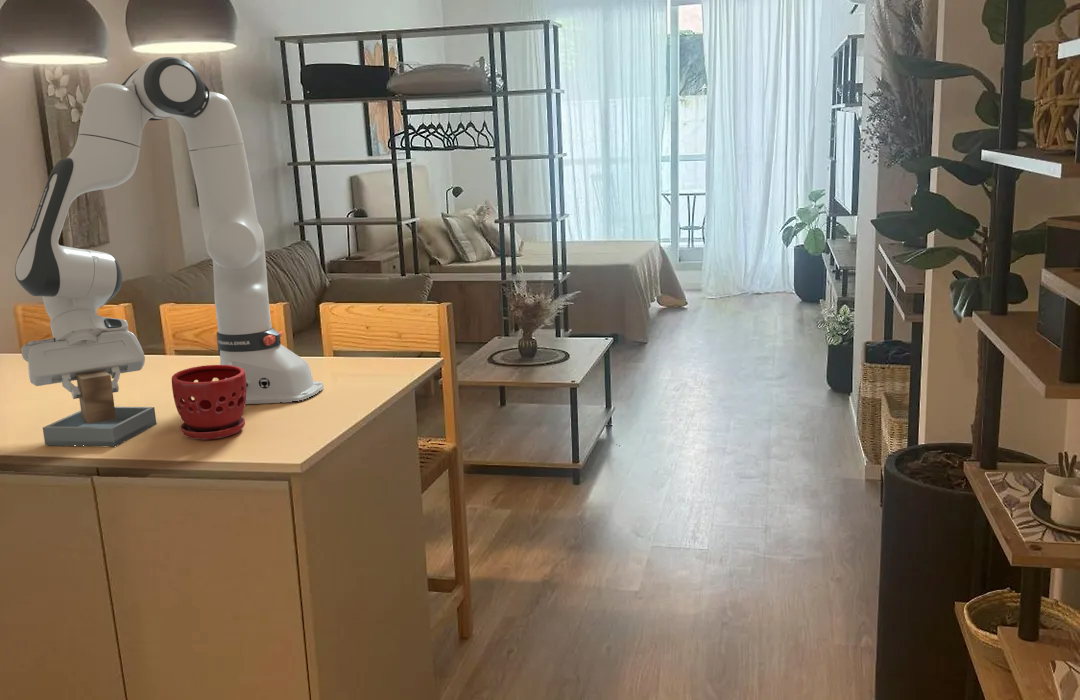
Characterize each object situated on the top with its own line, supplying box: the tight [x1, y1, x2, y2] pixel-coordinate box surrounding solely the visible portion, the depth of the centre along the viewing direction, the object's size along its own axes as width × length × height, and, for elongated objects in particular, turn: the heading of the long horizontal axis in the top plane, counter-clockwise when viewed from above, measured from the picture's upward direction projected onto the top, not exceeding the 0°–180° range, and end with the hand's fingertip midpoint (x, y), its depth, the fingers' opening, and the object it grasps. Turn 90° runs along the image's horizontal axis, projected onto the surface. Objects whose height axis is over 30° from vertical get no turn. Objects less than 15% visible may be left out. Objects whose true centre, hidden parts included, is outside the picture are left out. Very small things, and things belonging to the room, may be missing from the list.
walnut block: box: [76, 370, 116, 424], centre depth 178 cm, size 5×5×8 cm
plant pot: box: [171, 364, 246, 441], centre depth 177 cm, size 13×13×12 cm
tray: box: [42, 406, 157, 448], centre depth 179 cm, size 14×14×4 cm
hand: (96, 393), depth 177 cm, fingers closed on walnut block, 5 cm apart
